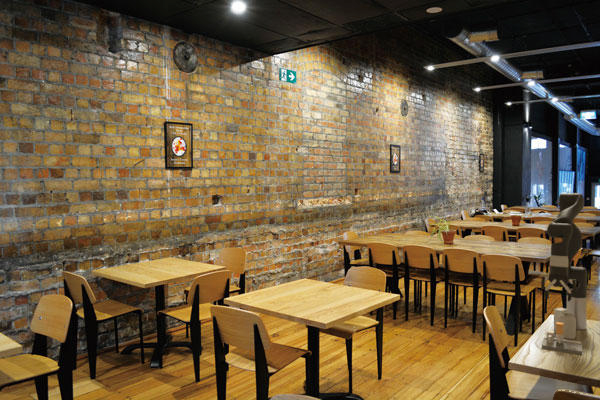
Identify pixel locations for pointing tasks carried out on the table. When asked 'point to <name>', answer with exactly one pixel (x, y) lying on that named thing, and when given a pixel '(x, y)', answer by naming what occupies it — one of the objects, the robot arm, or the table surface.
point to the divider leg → (559, 333)
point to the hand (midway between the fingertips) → (558, 299)
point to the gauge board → (567, 346)
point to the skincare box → (557, 314)
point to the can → (568, 325)
